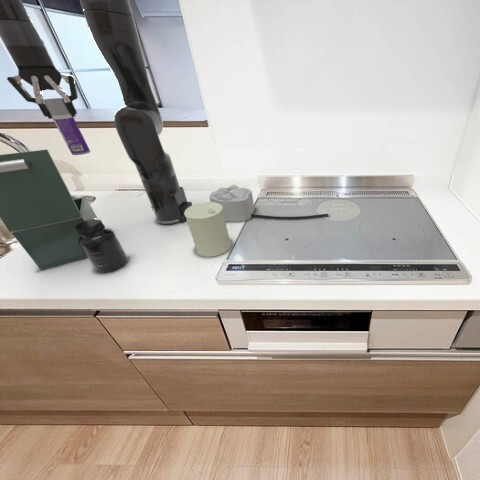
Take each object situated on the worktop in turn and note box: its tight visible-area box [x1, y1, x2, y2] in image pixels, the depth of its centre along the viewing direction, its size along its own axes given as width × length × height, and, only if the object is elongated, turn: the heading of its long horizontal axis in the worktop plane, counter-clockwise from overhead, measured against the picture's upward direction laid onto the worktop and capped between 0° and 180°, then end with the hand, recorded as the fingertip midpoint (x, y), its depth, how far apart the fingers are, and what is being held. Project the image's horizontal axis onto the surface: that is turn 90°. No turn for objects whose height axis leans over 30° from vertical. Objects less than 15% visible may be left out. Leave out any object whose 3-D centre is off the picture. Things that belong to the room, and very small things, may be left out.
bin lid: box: [0, 149, 82, 233], centre depth 56 cm, size 16×13×5 cm
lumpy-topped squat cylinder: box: [208, 184, 256, 223], centre depth 86 cm, size 10×13×9 cm
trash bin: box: [11, 196, 99, 271], centre depth 69 cm, size 15×13×11 cm
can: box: [184, 201, 232, 258], centre depth 69 cm, size 9×9×12 cm
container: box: [43, 97, 91, 156], centre depth 78 cm, size 5×5×15 cm
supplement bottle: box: [75, 218, 128, 273], centre depth 63 cm, size 7×7×12 cm
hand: (62, 117), depth 76 cm, fingers closed on container, 4 cm apart
